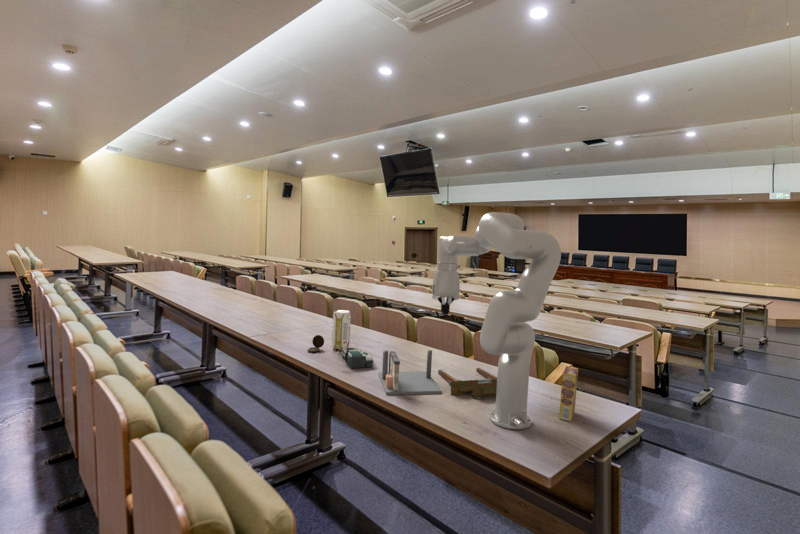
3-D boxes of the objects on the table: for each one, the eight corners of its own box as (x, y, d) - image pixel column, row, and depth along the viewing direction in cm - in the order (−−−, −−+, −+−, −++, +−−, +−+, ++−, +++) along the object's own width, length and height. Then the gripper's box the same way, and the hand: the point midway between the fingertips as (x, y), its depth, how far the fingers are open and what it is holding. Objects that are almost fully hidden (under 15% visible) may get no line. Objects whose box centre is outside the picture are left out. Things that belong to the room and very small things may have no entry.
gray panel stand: (441, 393, 148) (443, 361, 147) (386, 394, 144) (387, 361, 143) (426, 373, 169) (428, 345, 169) (378, 374, 166) (379, 345, 165)
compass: (305, 352, 194) (305, 337, 193) (313, 348, 201) (313, 334, 201) (320, 354, 191) (320, 339, 191) (327, 350, 199) (328, 335, 198)
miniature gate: (487, 363, 176) (527, 382, 147) (487, 376, 176) (526, 397, 147) (429, 366, 169) (458, 386, 140) (429, 379, 169) (458, 402, 140)
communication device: (361, 353, 197) (362, 335, 197) (374, 368, 175) (375, 348, 174) (337, 354, 194) (338, 336, 193) (346, 369, 171) (347, 349, 171)
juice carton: (350, 347, 206) (351, 310, 205) (345, 351, 198) (346, 313, 196) (336, 345, 207) (337, 309, 206) (330, 350, 199) (331, 311, 198)
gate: (388, 376, 160) (389, 350, 159) (393, 376, 160) (394, 350, 159) (392, 390, 145) (394, 361, 144) (399, 390, 145) (400, 361, 144)
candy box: (572, 422, 128) (576, 375, 127) (558, 419, 130) (561, 372, 129) (575, 412, 136) (578, 368, 135) (561, 409, 138) (564, 365, 137)
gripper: (461, 267, 163) (459, 312, 164) (426, 266, 159) (424, 312, 161) (468, 268, 155) (466, 316, 157) (431, 267, 152) (429, 316, 153)
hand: (444, 314), depth 159 cm, fingers closed
